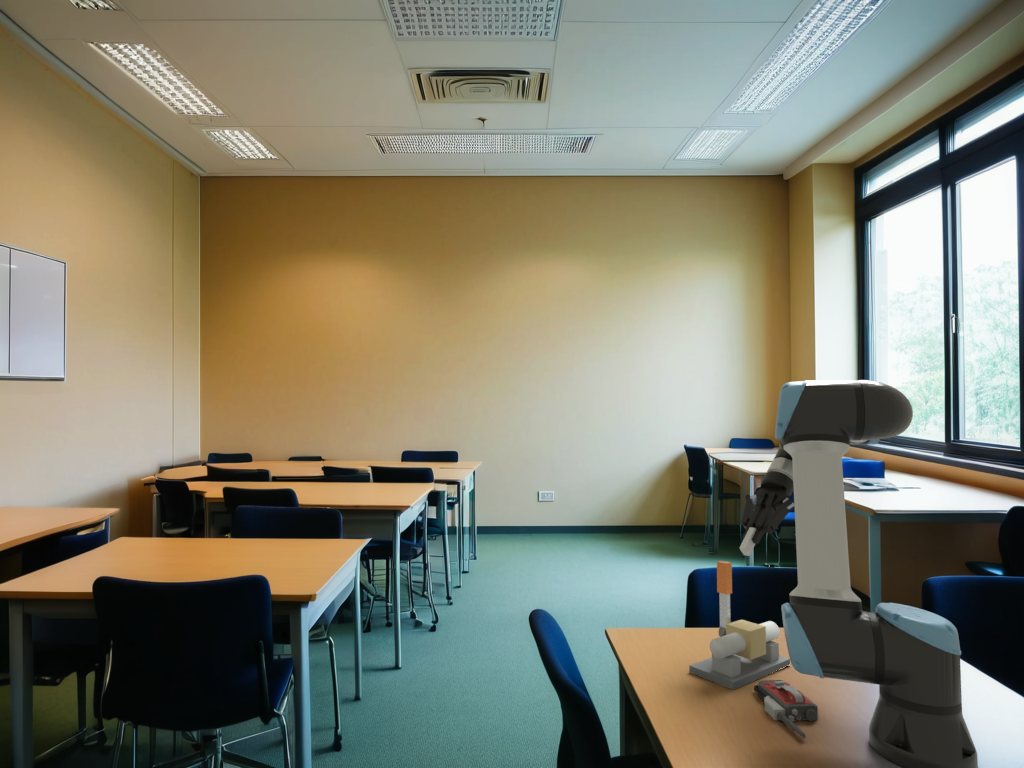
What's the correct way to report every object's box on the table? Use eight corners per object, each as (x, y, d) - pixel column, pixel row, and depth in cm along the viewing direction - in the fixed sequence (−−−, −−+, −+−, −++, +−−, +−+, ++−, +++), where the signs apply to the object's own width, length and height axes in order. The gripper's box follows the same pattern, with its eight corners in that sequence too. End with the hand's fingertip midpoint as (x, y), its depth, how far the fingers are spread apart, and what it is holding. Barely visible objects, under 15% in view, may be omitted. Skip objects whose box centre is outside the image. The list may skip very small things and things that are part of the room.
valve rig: (746, 651, 148) (745, 609, 149) (790, 665, 139) (789, 621, 140) (689, 672, 135) (688, 626, 136) (733, 689, 126) (732, 640, 127)
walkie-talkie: (743, 694, 125) (798, 744, 106) (743, 671, 126) (797, 718, 106) (784, 692, 126) (846, 742, 106) (783, 670, 127) (845, 716, 107)
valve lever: (724, 635, 143) (722, 560, 144) (733, 639, 140) (732, 562, 142) (716, 638, 141) (715, 561, 142) (726, 641, 139) (725, 563, 140)
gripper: (810, 491, 155) (775, 567, 144) (763, 487, 165) (727, 557, 154) (799, 471, 152) (762, 546, 141) (751, 468, 163) (714, 538, 152)
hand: (744, 552), depth 148 cm, fingers closed
